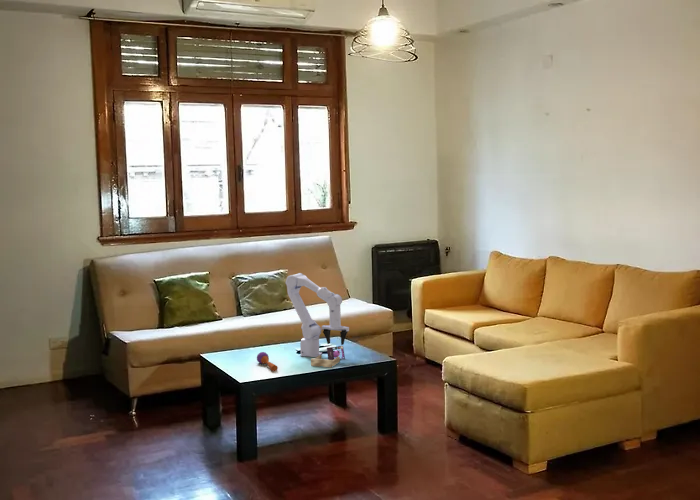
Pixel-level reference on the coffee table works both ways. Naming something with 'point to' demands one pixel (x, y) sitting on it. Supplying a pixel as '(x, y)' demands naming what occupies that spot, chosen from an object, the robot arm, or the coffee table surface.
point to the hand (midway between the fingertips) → (335, 344)
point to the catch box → (324, 361)
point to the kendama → (266, 360)
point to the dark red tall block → (335, 352)
